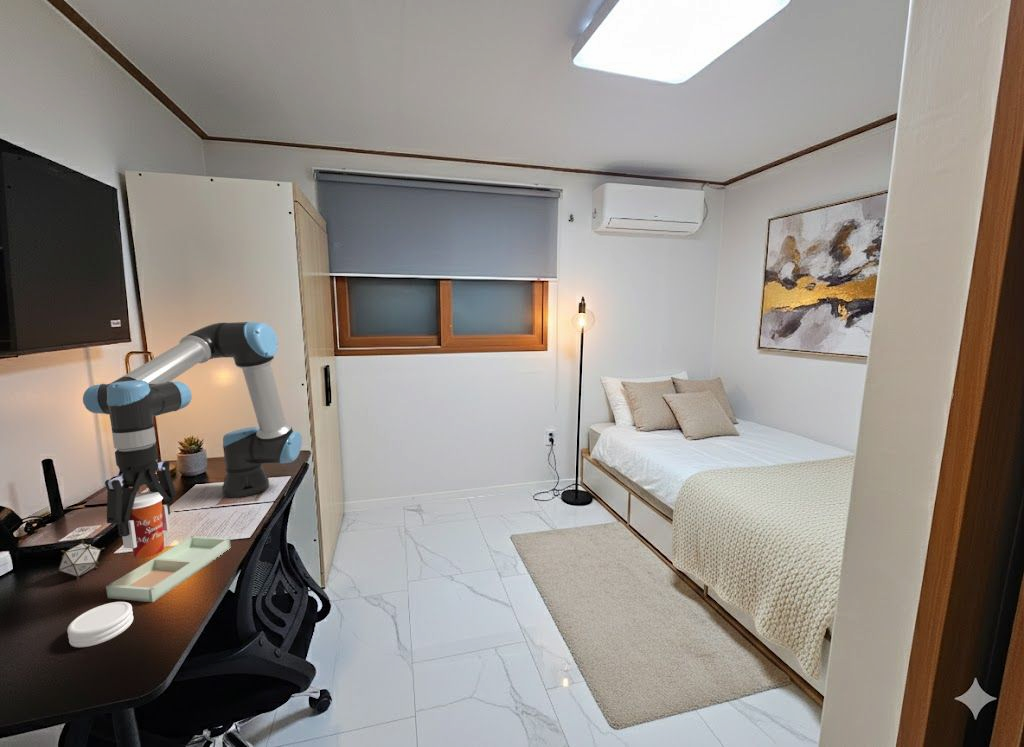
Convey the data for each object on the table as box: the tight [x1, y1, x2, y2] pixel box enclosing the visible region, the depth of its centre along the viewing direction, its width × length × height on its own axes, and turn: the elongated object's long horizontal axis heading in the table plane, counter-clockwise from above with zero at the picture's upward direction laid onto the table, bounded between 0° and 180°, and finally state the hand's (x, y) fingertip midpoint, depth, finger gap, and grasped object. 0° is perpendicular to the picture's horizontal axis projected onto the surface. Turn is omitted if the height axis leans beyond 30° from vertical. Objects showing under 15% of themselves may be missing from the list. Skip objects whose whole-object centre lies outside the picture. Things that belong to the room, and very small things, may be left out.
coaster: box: [66, 601, 134, 648], centre depth 92 cm, size 10×10×4 cm
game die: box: [54, 539, 105, 581], centre depth 112 cm, size 9×8×10 cm
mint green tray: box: [105, 535, 232, 603], centre depth 113 cm, size 23×12×3 cm, turn 172°
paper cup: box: [130, 491, 165, 559], centre depth 106 cm, size 8×8×14 cm
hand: (147, 537), depth 106 cm, fingers closed on paper cup, 8 cm apart
